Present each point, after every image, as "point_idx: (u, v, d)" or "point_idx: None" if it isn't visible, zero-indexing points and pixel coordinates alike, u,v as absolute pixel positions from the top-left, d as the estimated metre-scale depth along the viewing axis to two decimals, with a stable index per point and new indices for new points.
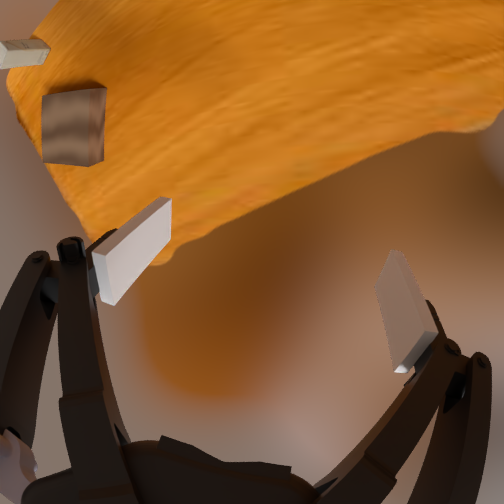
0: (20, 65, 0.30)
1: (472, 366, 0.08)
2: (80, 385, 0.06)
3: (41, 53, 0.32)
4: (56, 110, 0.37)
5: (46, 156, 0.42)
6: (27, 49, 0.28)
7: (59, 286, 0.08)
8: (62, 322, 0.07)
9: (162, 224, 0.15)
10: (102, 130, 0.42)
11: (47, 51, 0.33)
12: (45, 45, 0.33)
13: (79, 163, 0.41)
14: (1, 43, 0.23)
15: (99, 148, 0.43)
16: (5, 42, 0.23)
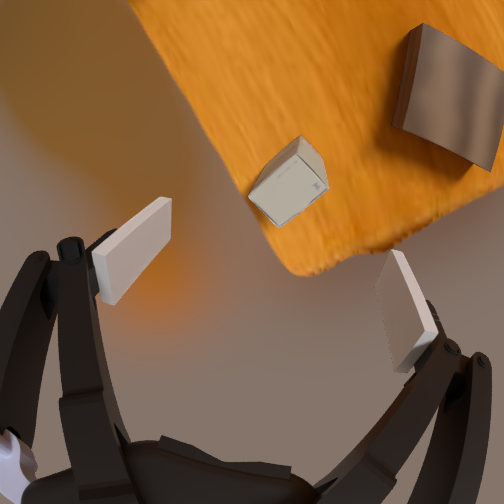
0: (324, 169, 0.27)
1: (472, 366, 0.08)
2: (80, 385, 0.06)
3: (307, 143, 0.30)
4: (437, 99, 0.22)
5: (486, 158, 0.23)
6: (298, 144, 0.27)
7: (59, 286, 0.08)
8: (62, 322, 0.07)
9: (162, 224, 0.15)
10: None
11: (304, 139, 0.32)
12: (288, 144, 0.32)
13: None
14: (260, 186, 0.24)
15: None
16: (258, 183, 0.25)
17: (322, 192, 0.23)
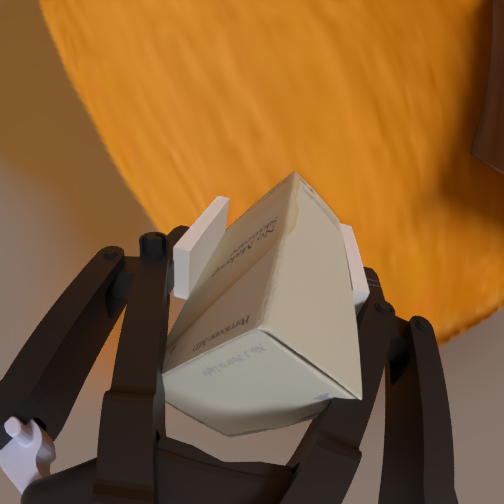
0: (348, 283, 0.11)
1: (411, 332, 0.09)
2: (132, 383, 0.06)
3: (309, 196, 0.14)
4: None
5: None
6: None
7: (134, 279, 0.10)
8: (129, 316, 0.08)
9: (222, 222, 0.16)
10: None
11: (303, 181, 0.15)
12: (269, 193, 0.16)
13: None
14: (163, 376, 0.08)
15: None
16: (167, 354, 0.09)
17: None
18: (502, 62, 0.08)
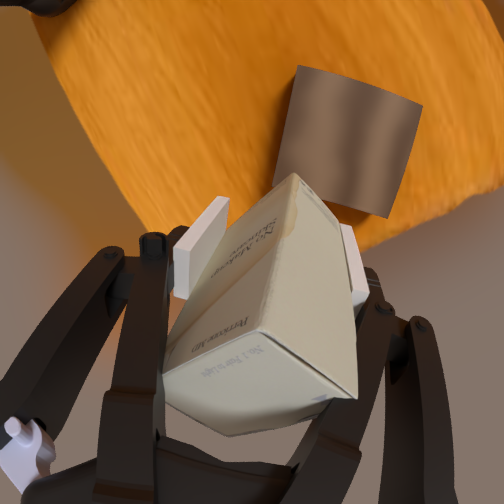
0: (347, 284, 0.11)
1: (411, 332, 0.09)
2: (132, 383, 0.06)
3: (308, 197, 0.14)
4: (311, 150, 0.28)
5: (381, 204, 0.29)
6: None
7: (134, 279, 0.10)
8: (129, 316, 0.08)
9: (222, 222, 0.16)
10: None
11: (302, 182, 0.15)
12: (268, 195, 0.16)
13: (414, 123, 0.24)
14: (163, 377, 0.08)
15: None
16: (166, 354, 0.09)
17: None
18: None
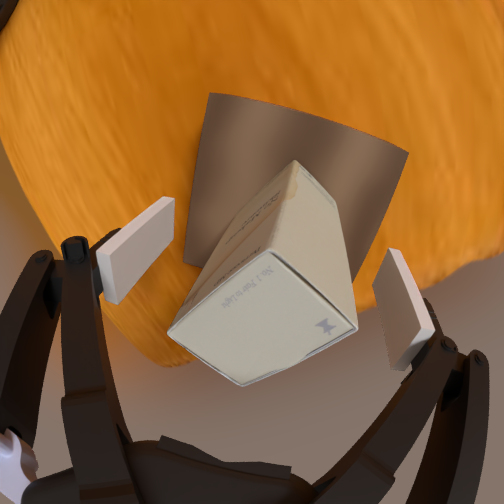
0: (343, 245, 0.13)
1: (469, 364, 0.08)
2: (83, 384, 0.06)
3: (307, 178, 0.16)
4: (230, 220, 0.21)
5: None
6: None
7: (63, 285, 0.08)
8: (65, 321, 0.07)
9: (165, 224, 0.15)
10: (324, 118, 0.20)
11: (302, 168, 0.17)
12: (272, 179, 0.18)
13: (392, 180, 0.17)
14: (187, 317, 0.10)
15: None
16: (189, 302, 0.11)
17: (339, 337, 0.09)
18: None
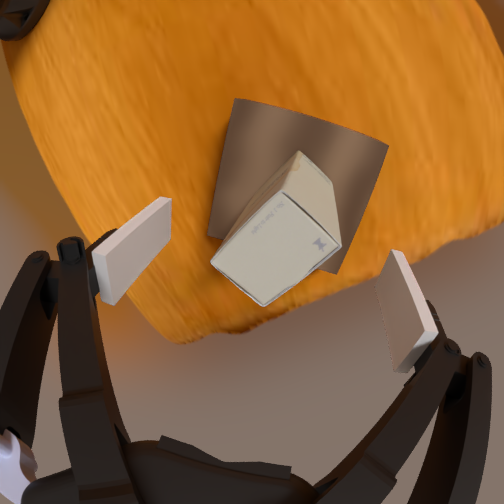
0: (334, 205, 0.18)
1: (472, 366, 0.08)
2: (80, 385, 0.06)
3: (308, 163, 0.21)
4: (248, 199, 0.26)
5: (329, 259, 0.28)
6: None
7: (59, 286, 0.08)
8: (62, 322, 0.07)
9: (162, 224, 0.15)
10: None
11: (304, 156, 0.22)
12: (282, 165, 0.23)
13: (375, 167, 0.22)
14: (226, 246, 0.15)
15: (355, 131, 0.24)
16: (226, 239, 0.16)
17: (330, 253, 0.14)
18: None
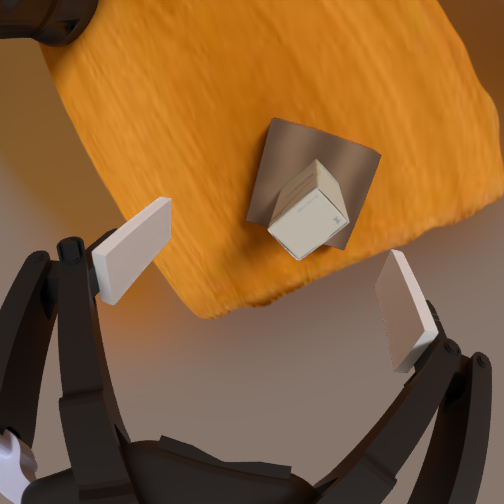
0: (342, 198, 0.27)
1: (472, 366, 0.08)
2: (80, 385, 0.06)
3: (323, 169, 0.30)
4: (279, 192, 0.35)
5: (338, 238, 0.37)
6: (316, 172, 0.27)
7: (59, 286, 0.08)
8: (62, 322, 0.07)
9: (162, 224, 0.15)
10: (333, 135, 0.34)
11: (320, 163, 0.32)
12: (304, 169, 0.32)
13: (372, 170, 0.31)
14: (280, 219, 0.24)
15: (357, 143, 0.33)
16: (277, 216, 0.25)
17: (342, 226, 0.23)
18: None
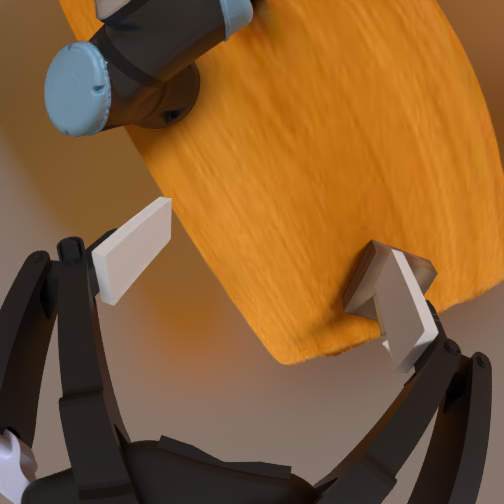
0: None
1: (472, 366, 0.08)
2: (80, 385, 0.06)
3: None
4: (370, 296, 0.49)
5: None
6: None
7: (59, 286, 0.08)
8: (62, 322, 0.07)
9: (162, 224, 0.15)
10: (407, 253, 0.47)
11: None
12: None
13: (429, 282, 0.45)
14: None
15: (422, 260, 0.46)
16: None
17: None
18: (357, 275, 0.50)
